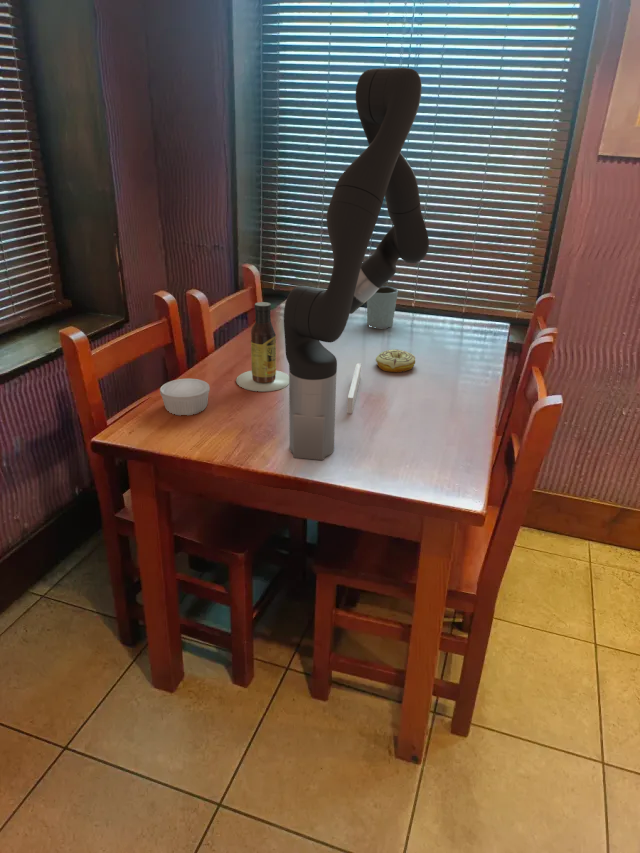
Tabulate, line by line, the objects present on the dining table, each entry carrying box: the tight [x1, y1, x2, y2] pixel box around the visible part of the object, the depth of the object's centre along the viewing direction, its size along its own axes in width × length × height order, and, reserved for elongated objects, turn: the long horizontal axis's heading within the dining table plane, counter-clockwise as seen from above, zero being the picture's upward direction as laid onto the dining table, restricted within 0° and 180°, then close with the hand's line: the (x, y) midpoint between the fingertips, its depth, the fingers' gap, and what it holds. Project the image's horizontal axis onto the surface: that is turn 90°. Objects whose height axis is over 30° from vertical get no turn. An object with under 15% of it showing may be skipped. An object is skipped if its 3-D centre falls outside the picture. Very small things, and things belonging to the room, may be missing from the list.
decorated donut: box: [375, 349, 416, 373], centre depth 165 cm, size 10×11×4 cm
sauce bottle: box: [250, 301, 277, 383], centre depth 150 cm, size 7×6×20 cm
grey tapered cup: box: [366, 285, 399, 329], centre depth 196 cm, size 10×10×12 cm
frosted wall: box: [346, 362, 362, 415], centre depth 147 cm, size 22×1×4 cm, turn 172°
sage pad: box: [236, 369, 289, 393], centre depth 155 cm, size 14×14×1 cm
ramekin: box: [159, 378, 211, 416], centre depth 139 cm, size 11×11×5 cm
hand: (307, 333), depth 147 cm, fingers open, 8 cm apart
